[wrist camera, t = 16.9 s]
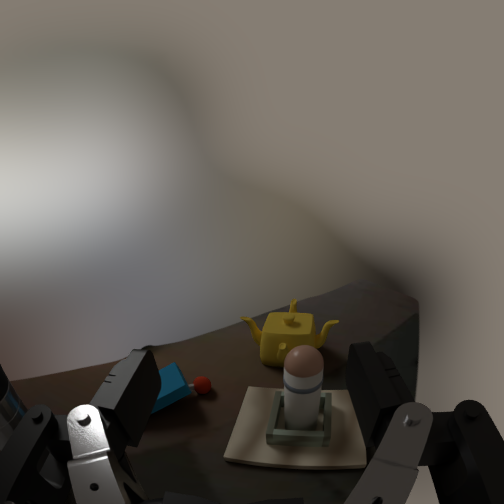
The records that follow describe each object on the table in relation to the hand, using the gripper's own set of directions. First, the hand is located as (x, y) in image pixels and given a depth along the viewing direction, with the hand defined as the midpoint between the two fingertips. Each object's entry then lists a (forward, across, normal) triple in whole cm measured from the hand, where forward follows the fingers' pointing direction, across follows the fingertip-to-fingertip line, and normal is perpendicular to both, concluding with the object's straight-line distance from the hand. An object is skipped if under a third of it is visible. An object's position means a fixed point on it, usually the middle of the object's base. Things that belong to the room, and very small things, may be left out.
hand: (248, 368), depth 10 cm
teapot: (+39, -4, +30) cm, 50 cm away
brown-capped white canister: (+18, -5, +29) cm, 35 cm away
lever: (+24, +19, +31) cm, 44 cm away
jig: (+19, -5, +30) cm, 36 cm away
